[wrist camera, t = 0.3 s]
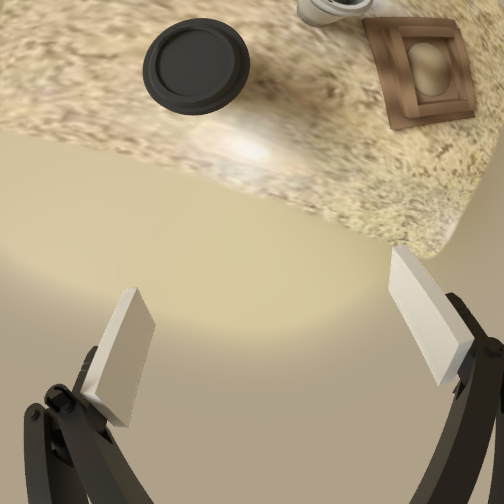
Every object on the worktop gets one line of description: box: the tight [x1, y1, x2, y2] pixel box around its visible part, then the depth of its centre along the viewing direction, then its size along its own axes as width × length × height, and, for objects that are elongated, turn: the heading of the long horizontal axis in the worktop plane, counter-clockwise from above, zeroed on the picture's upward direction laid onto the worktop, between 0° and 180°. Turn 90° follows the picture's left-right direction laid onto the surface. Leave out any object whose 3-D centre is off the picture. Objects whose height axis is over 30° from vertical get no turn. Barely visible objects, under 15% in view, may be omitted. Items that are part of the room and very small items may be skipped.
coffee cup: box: [143, 18, 250, 115], centre depth 25 cm, size 9×9×15 cm
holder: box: [362, 17, 476, 130], centre depth 29 cm, size 16×16×4 cm
